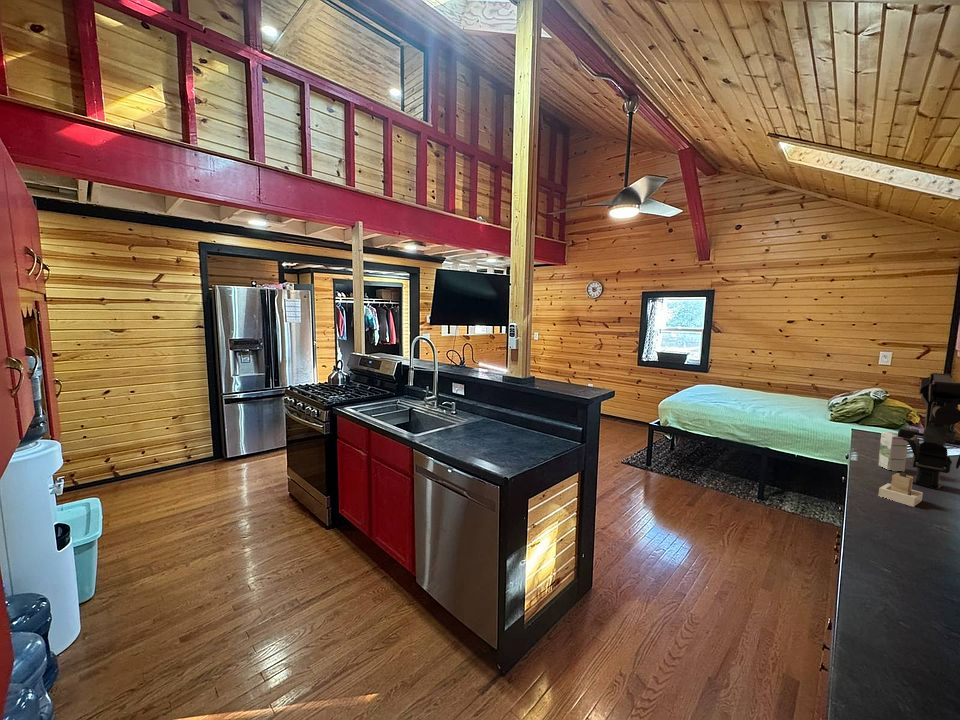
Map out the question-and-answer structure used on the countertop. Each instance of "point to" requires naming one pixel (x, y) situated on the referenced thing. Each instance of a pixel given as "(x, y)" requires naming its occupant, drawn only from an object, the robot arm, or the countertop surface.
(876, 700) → the countertop surface
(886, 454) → the syrup box
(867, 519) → the countertop surface
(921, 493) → the cream square ring
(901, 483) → the wooden peg
